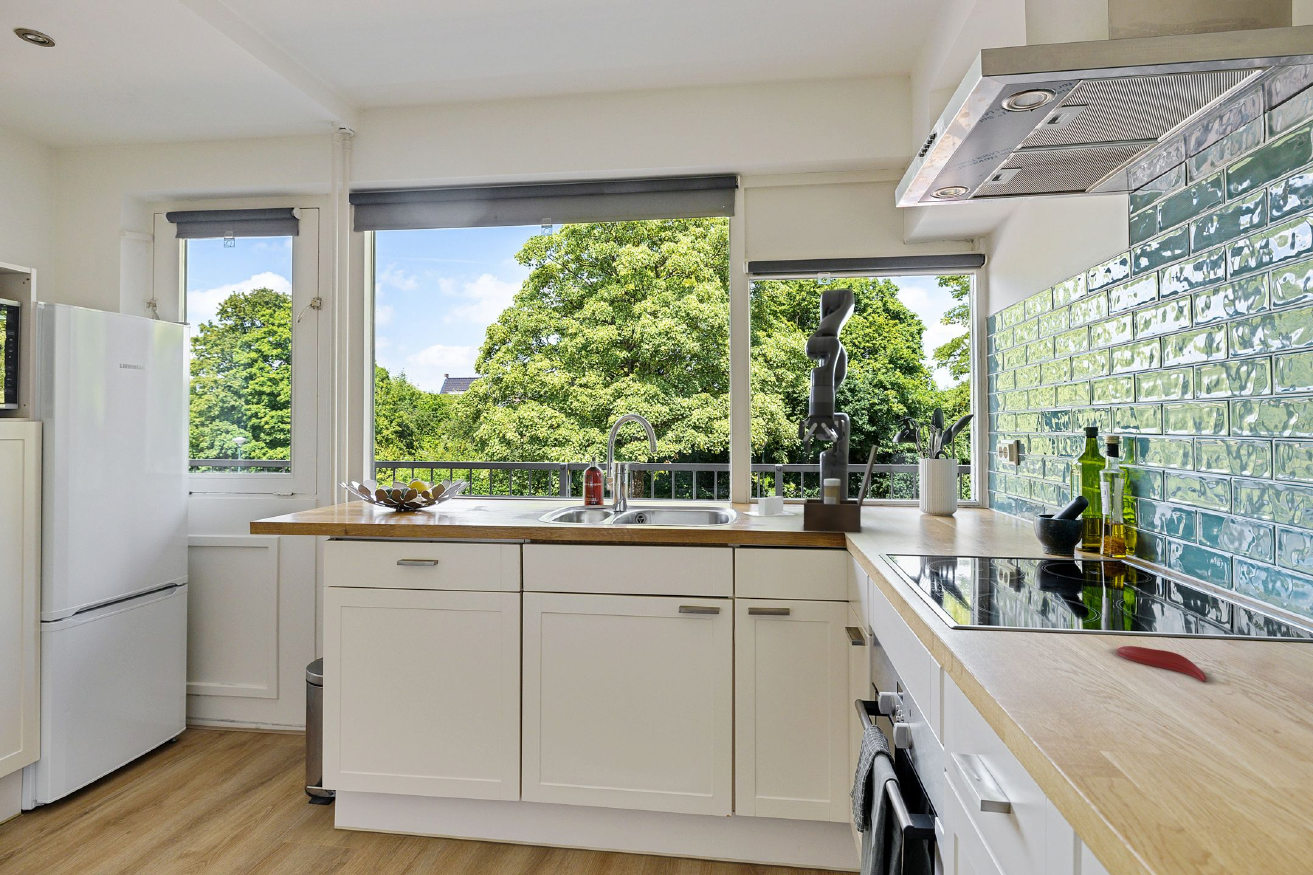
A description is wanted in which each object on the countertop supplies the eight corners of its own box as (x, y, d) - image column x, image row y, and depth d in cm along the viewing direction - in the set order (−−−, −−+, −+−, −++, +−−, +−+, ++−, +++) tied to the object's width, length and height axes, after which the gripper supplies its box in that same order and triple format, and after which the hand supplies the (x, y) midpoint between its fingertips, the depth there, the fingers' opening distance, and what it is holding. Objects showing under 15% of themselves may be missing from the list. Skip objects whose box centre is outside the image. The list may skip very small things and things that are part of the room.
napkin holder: (781, 510, 251) (781, 494, 251) (797, 514, 240) (797, 497, 240) (741, 512, 247) (741, 495, 246) (755, 516, 236) (755, 498, 236)
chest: (803, 530, 205) (803, 503, 204) (805, 524, 217) (805, 498, 217) (860, 532, 201) (860, 504, 201) (858, 526, 214) (858, 500, 214)
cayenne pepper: (1221, 681, 86) (1221, 664, 85) (1186, 683, 85) (1186, 666, 85) (1139, 649, 97) (1139, 635, 97) (1107, 651, 97) (1107, 636, 97)
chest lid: (875, 446, 200) (878, 447, 200) (872, 444, 213) (875, 445, 212) (859, 502, 201) (862, 503, 201) (857, 498, 214) (860, 498, 214)
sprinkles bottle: (843, 526, 209) (843, 479, 208) (832, 527, 206) (832, 479, 206) (831, 524, 212) (831, 478, 212) (820, 526, 210) (820, 478, 210)
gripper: (848, 401, 227) (847, 454, 227) (804, 402, 235) (803, 453, 235) (840, 400, 221) (839, 454, 221) (795, 401, 228) (794, 453, 228)
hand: (821, 454), depth 228 cm, fingers open, 8 cm apart
